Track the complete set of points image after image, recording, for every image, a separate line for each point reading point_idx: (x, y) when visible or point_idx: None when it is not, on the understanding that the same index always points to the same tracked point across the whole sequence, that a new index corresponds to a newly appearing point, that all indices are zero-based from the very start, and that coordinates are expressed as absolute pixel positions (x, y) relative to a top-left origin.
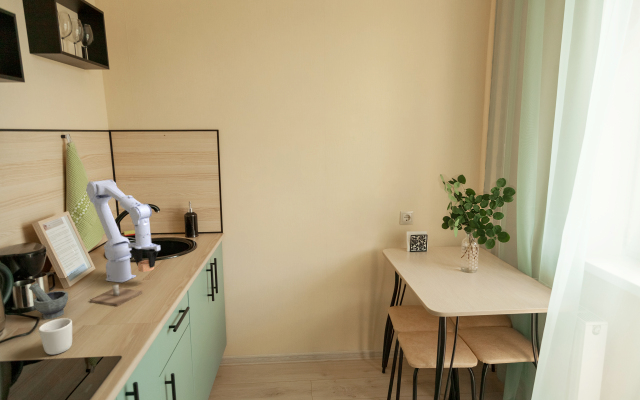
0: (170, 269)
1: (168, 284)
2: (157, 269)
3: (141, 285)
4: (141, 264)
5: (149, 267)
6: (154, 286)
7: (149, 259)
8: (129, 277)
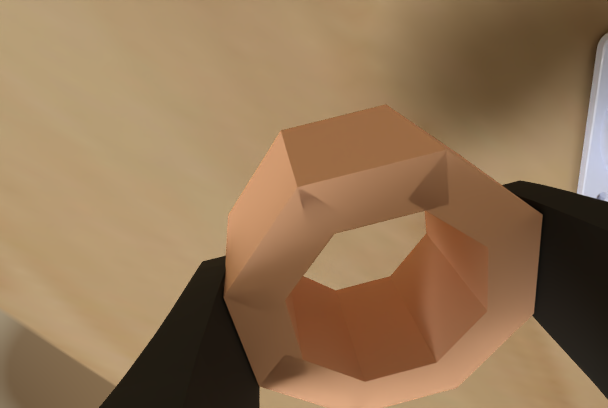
0: (420, 398)
1: (147, 247)
2: (512, 356)
3: (360, 101)
4: (347, 184)
5: (228, 247)
6: (217, 153)
7: (134, 397)
8: (604, 140)
